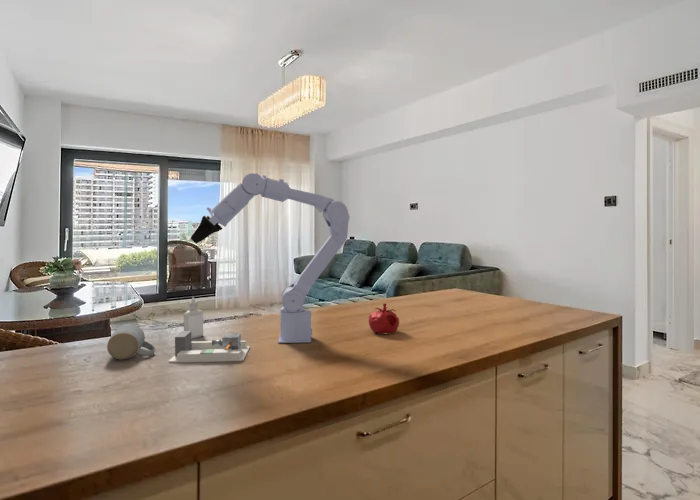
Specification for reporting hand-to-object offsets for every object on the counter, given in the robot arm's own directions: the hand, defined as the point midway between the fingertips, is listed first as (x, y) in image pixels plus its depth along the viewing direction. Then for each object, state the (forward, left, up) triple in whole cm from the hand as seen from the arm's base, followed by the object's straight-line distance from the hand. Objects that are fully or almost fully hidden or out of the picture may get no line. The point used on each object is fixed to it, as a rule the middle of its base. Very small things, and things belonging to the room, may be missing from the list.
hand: (195, 240), depth 115 cm
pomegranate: (-56, -9, -30) cm, 64 cm away
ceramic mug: (+14, +10, -30) cm, 34 cm away
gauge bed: (-7, +11, -30) cm, 32 cm away
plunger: (-10, +12, -29) cm, 33 cm away
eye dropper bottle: (+3, -7, -30) cm, 31 cm away
